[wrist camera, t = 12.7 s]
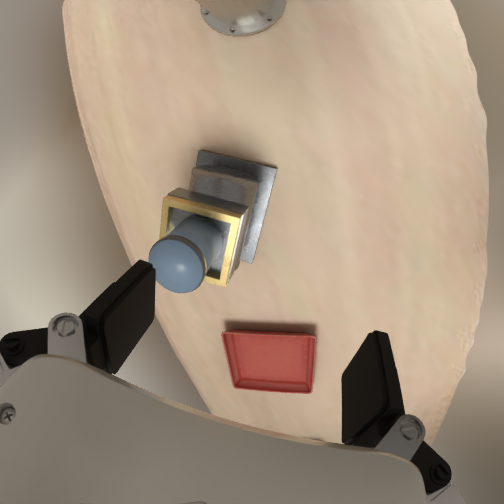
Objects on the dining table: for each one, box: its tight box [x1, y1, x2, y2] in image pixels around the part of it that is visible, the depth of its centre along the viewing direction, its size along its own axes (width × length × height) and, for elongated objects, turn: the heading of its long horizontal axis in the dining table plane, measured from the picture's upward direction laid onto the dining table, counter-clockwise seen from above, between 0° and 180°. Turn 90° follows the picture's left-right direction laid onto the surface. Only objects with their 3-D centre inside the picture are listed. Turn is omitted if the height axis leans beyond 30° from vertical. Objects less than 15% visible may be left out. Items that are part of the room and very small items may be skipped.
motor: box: [159, 150, 277, 287], centre depth 39 cm, size 16×12×14 cm
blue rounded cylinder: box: [149, 217, 222, 293], centre depth 31 cm, size 6×6×7 cm
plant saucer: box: [221, 330, 317, 394], centre depth 57 cm, size 18×18×3 cm
